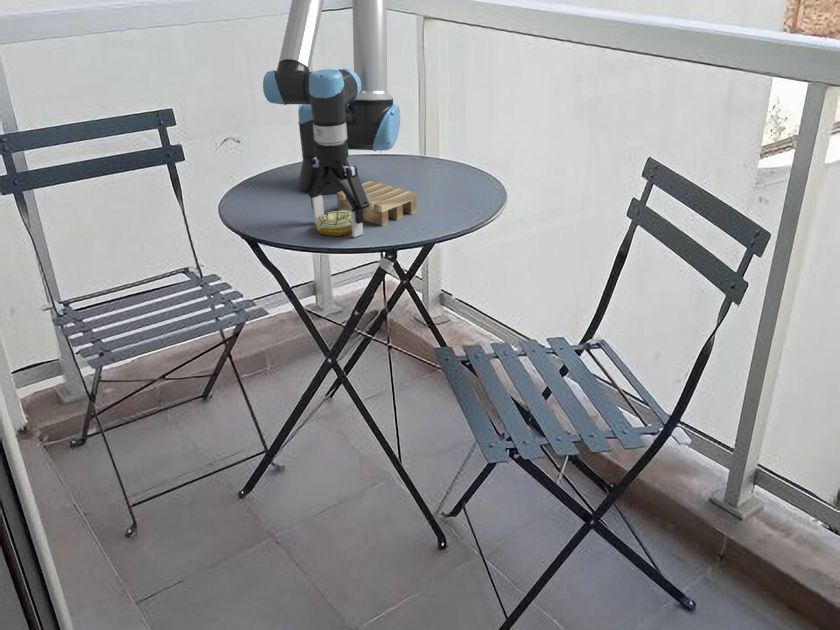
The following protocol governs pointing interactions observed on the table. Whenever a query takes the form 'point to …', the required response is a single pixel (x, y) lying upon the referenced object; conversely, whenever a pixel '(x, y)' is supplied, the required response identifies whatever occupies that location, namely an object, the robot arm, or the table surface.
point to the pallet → (382, 203)
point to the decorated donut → (334, 223)
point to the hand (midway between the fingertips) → (338, 229)
